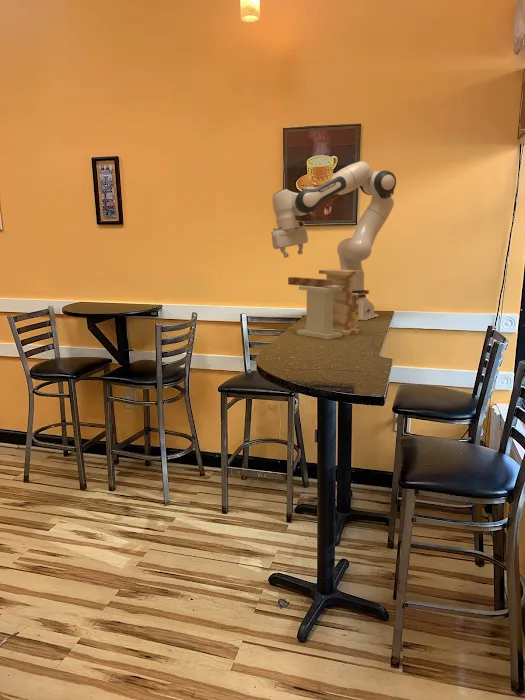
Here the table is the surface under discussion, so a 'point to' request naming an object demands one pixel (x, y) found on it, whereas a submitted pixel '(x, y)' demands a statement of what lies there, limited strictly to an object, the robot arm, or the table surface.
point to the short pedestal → (319, 313)
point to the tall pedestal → (342, 300)
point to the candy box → (354, 310)
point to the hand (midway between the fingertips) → (293, 255)
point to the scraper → (313, 282)
